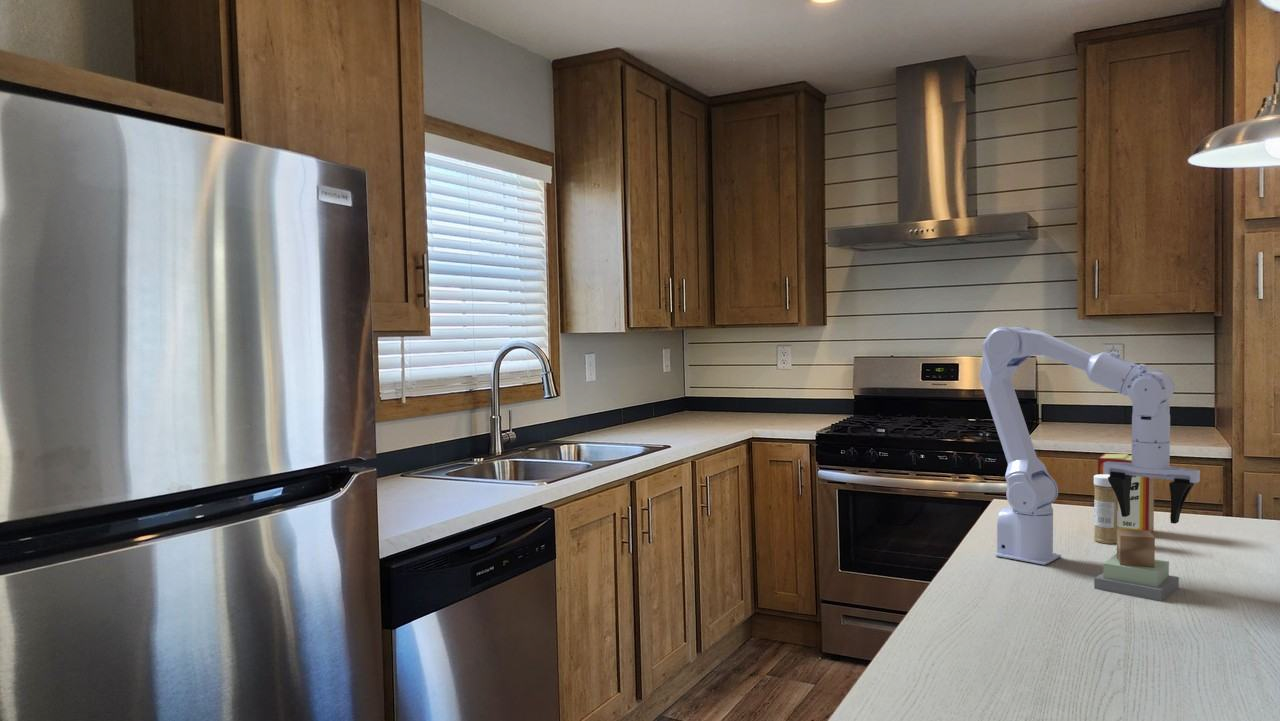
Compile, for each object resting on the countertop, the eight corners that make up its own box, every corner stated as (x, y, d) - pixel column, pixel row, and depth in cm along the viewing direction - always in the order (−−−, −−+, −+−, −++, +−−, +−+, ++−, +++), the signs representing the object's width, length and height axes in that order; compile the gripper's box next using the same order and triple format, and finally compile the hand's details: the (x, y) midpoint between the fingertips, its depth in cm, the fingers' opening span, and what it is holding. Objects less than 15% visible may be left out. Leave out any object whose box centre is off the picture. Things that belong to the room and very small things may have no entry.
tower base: (1094, 592, 149) (1094, 577, 149) (1114, 579, 156) (1114, 565, 156) (1160, 605, 142) (1160, 590, 142) (1178, 591, 149) (1178, 576, 149)
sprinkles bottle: (1123, 542, 179) (1123, 475, 178) (1111, 545, 177) (1111, 478, 176) (1100, 537, 183) (1101, 472, 182) (1088, 540, 180) (1089, 475, 180)
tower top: (1103, 578, 149) (1103, 563, 149) (1116, 567, 155) (1116, 553, 155) (1157, 587, 144) (1157, 571, 144) (1168, 576, 150) (1168, 561, 150)
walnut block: (1120, 565, 148) (1120, 535, 148) (1116, 557, 153) (1116, 528, 152) (1154, 567, 146) (1154, 537, 146) (1150, 559, 151) (1150, 530, 150)
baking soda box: (1153, 530, 188) (1154, 455, 187) (1148, 537, 183) (1149, 459, 182) (1103, 525, 194) (1104, 452, 193) (1097, 531, 189) (1098, 456, 188)
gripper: (1205, 442, 151) (1204, 521, 152) (1113, 435, 161) (1112, 509, 162) (1193, 446, 146) (1192, 528, 147) (1099, 439, 156) (1098, 515, 157)
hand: (1149, 519), depth 154 cm, fingers open, 7 cm apart
